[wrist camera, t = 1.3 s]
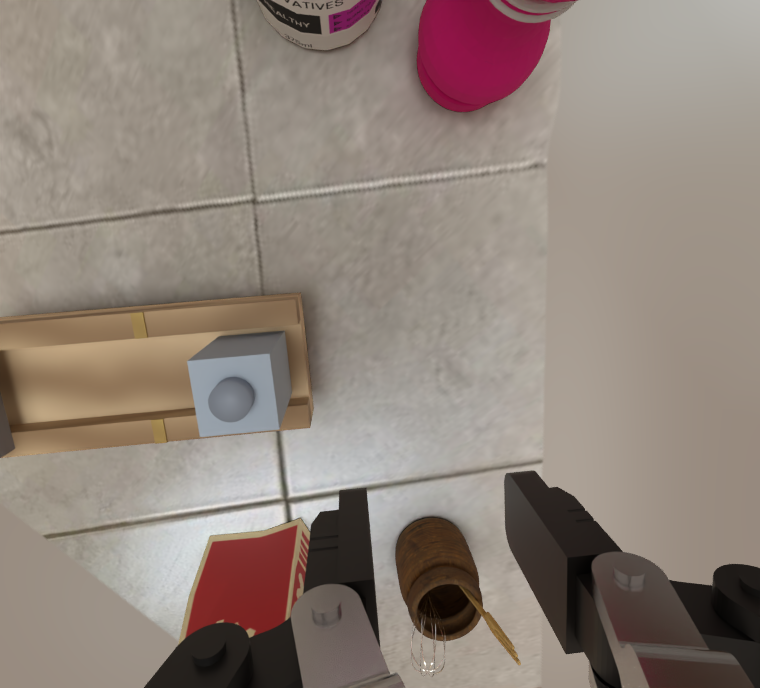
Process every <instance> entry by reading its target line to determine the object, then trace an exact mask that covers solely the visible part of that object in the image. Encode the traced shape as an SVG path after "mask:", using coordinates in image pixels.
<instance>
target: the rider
mask: <svg viewBox="0 0 760 688" xmlns="http://www.w3.org/2000/svg"><path fill="white" fill-rule="evenodd" d="M187 364H188V370H189V376H190V382H191V388H192V393H193V399H194V405H195V411H196V417H197V423H198V429H199V434H200V437H208V436H218V435H228V434H239V433H249V432H259V431H270V430H279V429H280V427H281V424H282V421H283V418H284V415H285V412H286V409H287V406H288V403H289V400H290V397H291V395H292V387H291V378H290V370H289V362H288V354H287V345H286V337H285V331H274V332H262V333H251V334H239V335H228V336H218V337H217V338H216V339H215V340H213V341H212V342H211V343H209V344H208V345H207V346H206V347H204V348H203V349H202V350H200V351H199V352H198V353H197V354H195V355H194V356H193V357H192V358H190V359H189V360H188V361H187Z"/></svg>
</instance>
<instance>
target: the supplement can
mask: <svg viewBox="0 0 760 688" xmlns="http://www.w3.org/2000/svg"><path fill="white" fill-rule="evenodd" d="M257 2H258V4H259V6H260V8H261V10H262V12H263V14H264V16H265V19H266V20H267V21H268V22H269V23H270V24H271V25H272V26H273V27H274V28H275V29H276V30H277V31H278V32H279V33H280V34H281V35H282V37H284V38H286V39H288V40H290V41H292V42H294V43H296V44H298V45H299V46H301V47H303V48H309V49H318V50H331V49H334V48H337V47H341V46H344V45H348V44H350V43H351V42H352V41H354V40H355V39H356V38H357V37H359V36H360V35H361V34H362V33H364V32H365V31H366V30H367V29H368V28H369V26H370V24H371V23H372V21H373V19H374V18H375V16H376V15H377V13H378V11H379V10H380V6H381V2H382V0H257Z"/></svg>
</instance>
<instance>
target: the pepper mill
mask: <svg viewBox="0 0 760 688" xmlns="http://www.w3.org/2000/svg"><path fill="white" fill-rule="evenodd" d="M576 1H577V0H427V1H426V3H425V5H424V7H423V11H422V14H421V17H420V23H419V32H418V43H419V47H418V53H417V69H418V74H419V78H420V80H421V83H422V85H423V87H424V89H425V90H426V92H427V93H428V95H429V96H430V97H431V98H432V99H433V100H434V101H435V102H436V103H438V104H439V105H441V106H442V107H444V108H446V109H449V110H452V111H457V112H469V111H474V110H477V109H480V108H482V107H484V106H485V105H487V104H489V103H492V102H495V101H497V100H500V99H503V98H504V97H506V96H508V95H510V94H511V93H513V92H514V91H515V90H516V89H518V88H519V87H520V86H521V85H522V83H523V82H524V81H525V80H526V79H527V78H528V77H529V75H530V74H531V73H532V71H533V70H534V68H535V67H536V66H537V64H538V62H539V60H540V58H541V56H542V54H543V51H544V48H545V45H546V42H547V39H548V35H549V31H550V22H551V19H554V18H556V17H557V16H559V15H561V14H562V13H564V12H566V11H567V10H568V9H569V8H570V7H571V6H572V5H573V4H574V3H575V2H576Z"/></svg>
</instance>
